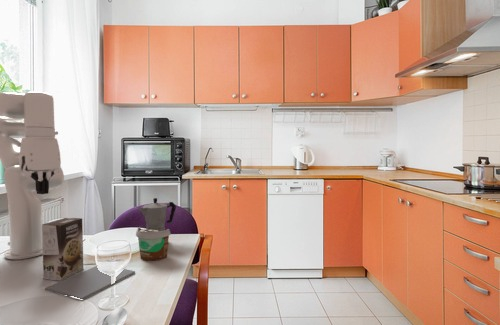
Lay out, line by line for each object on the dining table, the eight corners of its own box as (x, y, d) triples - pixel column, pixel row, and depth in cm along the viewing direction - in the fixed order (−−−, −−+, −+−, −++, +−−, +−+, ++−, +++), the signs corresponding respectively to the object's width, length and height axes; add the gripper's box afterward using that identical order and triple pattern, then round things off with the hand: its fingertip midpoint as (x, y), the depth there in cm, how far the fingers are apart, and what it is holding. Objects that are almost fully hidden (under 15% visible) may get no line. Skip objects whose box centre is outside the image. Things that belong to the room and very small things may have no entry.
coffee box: (61, 281, 88) (59, 225, 87) (42, 279, 89) (40, 224, 88) (84, 268, 97) (83, 217, 96) (67, 266, 98) (65, 216, 97)
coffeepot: (144, 250, 113) (144, 201, 112) (134, 244, 120) (133, 198, 119) (181, 241, 124) (181, 197, 123) (170, 236, 131) (169, 194, 130)
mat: (45, 289, 83) (45, 287, 83) (101, 265, 99) (101, 263, 99) (81, 300, 77) (81, 298, 77) (135, 273, 94) (134, 271, 94)
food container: (128, 260, 104) (127, 231, 103) (139, 254, 110) (138, 226, 109) (161, 264, 101) (161, 233, 100) (170, 257, 107) (170, 228, 106)
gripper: (56, 134, 102) (58, 189, 103) (5, 133, 89) (8, 196, 90) (71, 134, 99) (73, 191, 100) (21, 132, 86) (24, 198, 87)
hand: (42, 193), depth 95 cm, fingers closed
